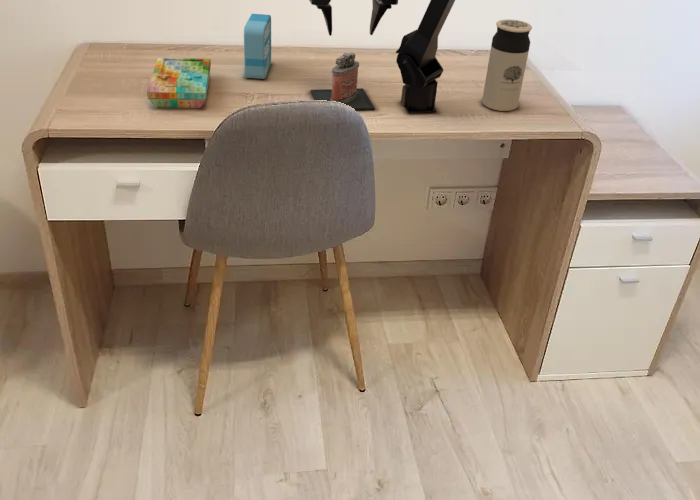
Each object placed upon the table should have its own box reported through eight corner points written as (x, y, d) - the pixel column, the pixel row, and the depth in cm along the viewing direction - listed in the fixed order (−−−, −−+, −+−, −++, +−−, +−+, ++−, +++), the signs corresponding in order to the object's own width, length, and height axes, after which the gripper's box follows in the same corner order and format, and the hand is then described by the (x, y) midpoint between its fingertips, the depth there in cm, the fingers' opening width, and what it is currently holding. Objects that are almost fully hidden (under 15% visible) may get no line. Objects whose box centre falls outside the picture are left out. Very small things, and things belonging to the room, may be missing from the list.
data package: (264, 81, 170) (263, 29, 163) (244, 79, 170) (243, 27, 163) (271, 63, 180) (271, 13, 173) (252, 61, 180) (251, 11, 173)
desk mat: (362, 90, 169) (362, 88, 168) (374, 110, 160) (374, 107, 160) (310, 92, 166) (310, 89, 166) (319, 112, 157) (319, 109, 157)
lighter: (348, 91, 166) (350, 47, 161) (360, 95, 165) (363, 51, 159) (326, 102, 161) (328, 57, 155) (339, 106, 159) (341, 61, 154)
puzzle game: (146, 88, 151) (157, 53, 167) (148, 109, 153) (159, 74, 170) (205, 89, 152) (210, 55, 169) (206, 110, 155) (211, 75, 171)
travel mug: (479, 96, 170) (492, 17, 160) (514, 99, 170) (529, 20, 160) (483, 110, 163) (497, 29, 153) (520, 113, 163) (536, 31, 153)
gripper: (388, -49, 163) (382, 23, 172) (304, -49, 159) (302, 23, 168) (402, -36, 154) (395, 38, 163) (313, -37, 150) (311, 40, 159)
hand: (350, 34), depth 163 cm, fingers open, 9 cm apart
